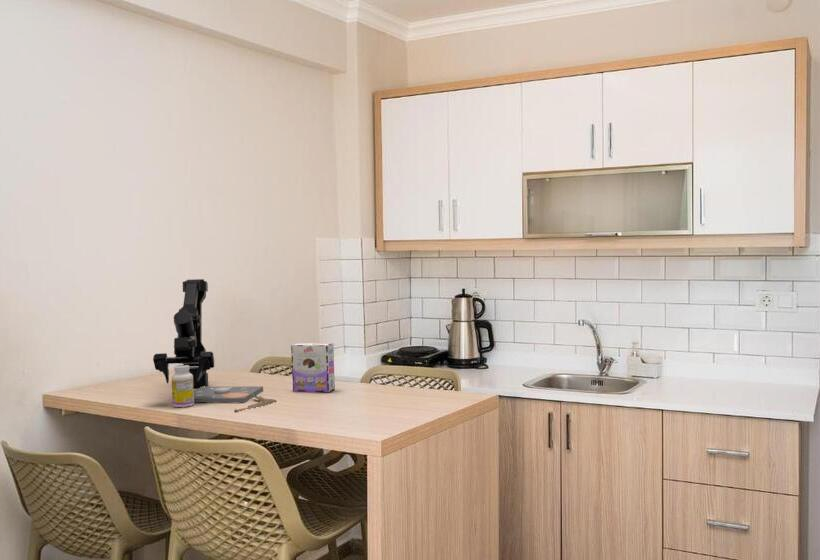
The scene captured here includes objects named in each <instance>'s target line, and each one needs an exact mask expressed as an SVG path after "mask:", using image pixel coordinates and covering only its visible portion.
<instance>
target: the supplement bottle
mask: <svg viewBox="0 0 820 560" xmlns="http://www.w3.org/2000/svg"><path fill="white" fill-rule="evenodd" d="M173 369H174V373H173V375H172V376H171V394H172V395H171V398H172V400H171V401H172V406H173V407H174V408H177V407H182V408H189V407H188V406H190V407H192V406H193V405H195V403H194V389H195V388H193V375H192V374H191V373H189V369H190V367H189V365H183V364H179V365H175V366H174V368H173Z"/></svg>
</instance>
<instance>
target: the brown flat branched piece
mask: <svg viewBox="0 0 820 560" xmlns="http://www.w3.org/2000/svg"><path fill="white" fill-rule="evenodd" d="M253 398H255V399H257V400H258V401H259V402H257V403H252V404H250V405H247V407H244V408H239V409H234V413H240V412H239V411H241V412H243V411H242V410H244V411H246V410H245V409H248V410H251V408H253V409H257V408H256V407H259V408H262V407H261V406H263V407H266V406H269V405H271V404H274V403H273V402H275V403H277V400H276V399H274V398H273V399H272V398H264V397H263V396H261V395H259V396H258V395H256V396H255V395H253ZM268 404H269V405H268ZM265 405H266V406H265ZM235 411H236V412H235Z"/></svg>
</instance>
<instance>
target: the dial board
mask: <svg viewBox="0 0 820 560" xmlns="http://www.w3.org/2000/svg"><path fill="white" fill-rule="evenodd" d="M260 392H261V393H262V392H264V386H205V387H200V388H195V390H194V402H242V403H241V404H245V403H246V402H248V401H250V400H251V399H253V398H254V397H253V395H256V396H258V395H259V394H261V393H260ZM252 397H253V398H252ZM250 398H251V399H250ZM249 399H250V400H249ZM247 400H248V401H247ZM244 402H245V403H244Z"/></svg>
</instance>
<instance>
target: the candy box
mask: <svg viewBox="0 0 820 560" xmlns="http://www.w3.org/2000/svg"><path fill="white" fill-rule="evenodd" d="M290 349H291V352H290V353H291V371H292V392H297V393H298V392H299V393H300V392H301V393H305V392H306V393H330V392H333V391H335V390H336V384H335V383H336V381H335V380H336V379H335V355H334V343H331V342H328V343H327V342H323V343H322V342H297V343H293V344H291V345H290Z"/></svg>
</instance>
